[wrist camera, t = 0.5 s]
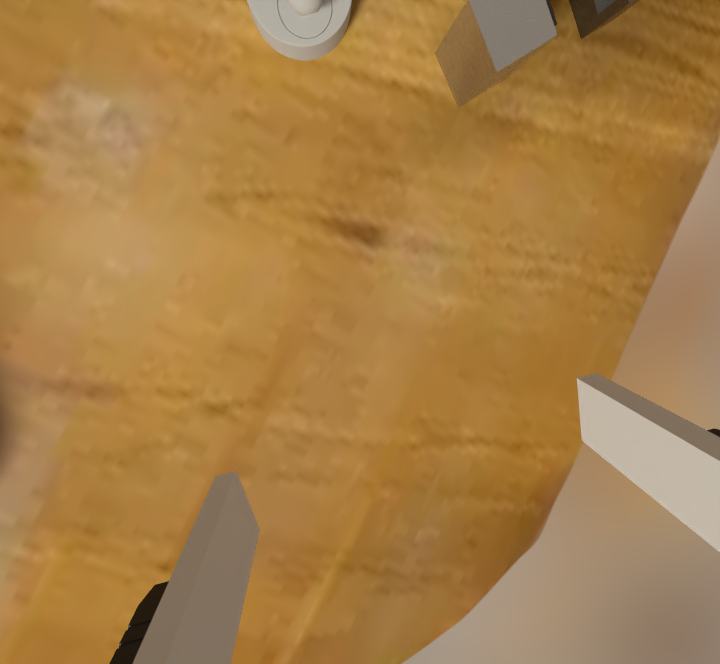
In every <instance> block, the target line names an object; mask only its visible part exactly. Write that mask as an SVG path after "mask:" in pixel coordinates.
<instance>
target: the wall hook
mask: <svg viewBox="0 0 720 664" xmlns="http://www.w3.org/2000/svg"><path fill="white" fill-rule="evenodd" d="M247 1H248V4H249V7H250V10H251V13H252V16H253V19H254V22H255V24H256V26H257V28H258V30H259V32H260V33H261V35H262V36H263V38H264V39H265V40H266V42H267V43H268V44H269V45H270V46H271V47H272V48H274V49H275V50H276V51H278V52H279V53H281V54H282V55H284V56H287V57H289V58H292V59H296V60H313V59H317V58H320V57H322V56H324V55H326V54H328V53H329V52H330V51H332V50H333V49H334V48H335V47H336V46H337V45H338V43H339V42H340V41H341V39H342V38H343V36H344V34H345V32H346V29H347V27H348V23H349V19H350V13H351V5H352V0H247Z"/></svg>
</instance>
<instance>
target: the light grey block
mask: <svg viewBox="0 0 720 664" xmlns="http://www.w3.org/2000/svg"><path fill="white" fill-rule="evenodd" d="M556 25H557V22H556V19H555V16H554V13H553V10H552V7H551V4H550V1H549V0H468V1H467V3H466V4H465V6H464V7H463V9H462V11H461V12H460V14H459V15H458V17H457V19H456V20H455V22H454V24H453V25H452V27H451V28H450V30H449V32H448V33H447V35H446V36H445V38H444V40H443V41H442V43H441V44H440V46H439V48H438V49H437V51H436V52H435V54H436V57H437V59H438V61H439V64H440V66H441V68H442V71H443V73H444V75H445V78H446V80H447V82H448V85H449V87H450V89H451V92H452V94H453V97H454V99H455V101H456V104H457V106H458V108H459V107H460V106H462V105H464V104H465V103H467V102H469V101H470V100H472V99H473V98H475V97H477V96H478V95H480V94H482V93H483V92H485V91H486V90H488V89H490V88H491V87H493V86H495V85H496V84H498V83H500V82H501V81H503V80H504V79H506V78H507V77H508V76H509V75H511V74H512V73H513V72H514V71H515V70H516V69H518V68H519V67H520V66H521V65H522V64H524V63H525V62H526V61H527V60H528V59H530V58H531V57H532V56H533V55H534V54H535V53H537V52H538V51H539V50H540V49H541V48H543V47H544V46H545V45H546V44H547V43H549V42H550V41H551V40H552V39H553V38H554V37H556V36H557V32H556V29H555V26H556Z"/></svg>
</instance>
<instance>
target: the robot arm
mask: <svg viewBox="0 0 720 664" xmlns="http://www.w3.org/2000/svg"><path fill="white" fill-rule="evenodd" d="M577 385H578V397H579V410H580V422H581V435H582V441H583V442H584V443H586V444H587V445H588V446H589V447H591V448H592V449H593V450H594V451H595V452H597V453H598V454H599V455H600V456H602V457H603V458H604V459H605V460H607V461H608V462H609V463H610V464H612V465H613V466H614V467H615V468H617V469H618V470H619V471H620V472H621V473H623V474H624V475H625V476H626V477H628V478H629V479H630V480H631V481H632V482H634V483H635V484H636V485H637V486H639V487H640V488H641V489H642V490H644V491H645V492H646V493H648V494H649V495H650V496H651V497H652V498H653V499H655V500H656V501H657V502H658V503H660V504H661V505H662V506H664V507H665V508H666V509H667V510H668V511H670V512H671V513H672V514H673V515H675V516H676V517H677V518H678V519H680V520H681V521H682V522H683V523H684V524H686V525H687V526H688V527H689V528H691V529H692V530H693V531H694V532H695V533H697V534H698V535H699V536H700V537H702V538H703V539H704V540H705V541H707V542H708V543H709V544H711V545H712V546H713V547H714V548H715V549H716V550H718V551H719V552H720V430H718V429H711V430H705V429H703V428H701V427H699V426H697V425H695V424H693V423H691V422H689V421H688V420H686V419H684V418H682V417H680V416H678V415H676V414H674V413H672V412H670V411H668V410H666V409H665V408H663V407H661V406H659V405H657V404H655V403H653V402H651V401H649V400H647V399H645V398H643V397H641V396H640V395H638V394H636V393H634V392H632V391H630V390H628V389H626V388H624V387H622V386H620V385H618V384H616V383H614V382H613V381H611V380H609V379H607V378H605V377H603V376H601V375H599V374H597V373H595V374H591V375H588V376H584V377H580V378H577ZM259 530H260V529H259V527H258V524H257V522H256V519H255V517H254V514H253V512H252V509H251V507H250V504H249V502H248V499H247V497H246V495H245V492H244V490H243V487H242V485H241V482H240V480H239V477H238V475H237V472H236V471H233V472H230V473H226V474H222V475H219V476H215V479H214V481H213V483H212V485H211V488H210V490H209V492H208V494H207V497H206V499H205V501H204V503H203V506H202V508H201V510H200V512H199V515H198V517H197V519H196V522H195V524H194V526H193V528H192V531H191V533H190V535H189V537H188V540H187V542H186V544H185V546H184V549H183V551H182V553H181V555H180V558H179V560H178V562H177V564H176V567H175V569H174V571H173V573H172V576H171V578H170V580H169V581H168V582H164V583H161V584H157V585H154V587H153V588H152V589H151V590H150V592H149V593H148V594H147V595H146V597H145V598H144V599H143V600H142V602H141V603H140V604H139V605H138V607H137V609H136V611H135V613H134V615H133V617H132V619H131V621H130V623H129V625H128V630H127V631H126V632H125V634H124V636H123V638H122V640H121V642H120V644H119V649H117V650H116V652H115V654H114V656H113V658H112V660H111V662H110V664H231V660H232V655H233V650H234V646H235V641H236V637H237V632H238V627H239V623H240V618H241V613H242V609H243V604H244V600H245V595H246V590H247V586H248V581H249V576H250V572H251V567H252V562H253V558H254V553H255V549H256V544H257V539H258V535H259Z"/></svg>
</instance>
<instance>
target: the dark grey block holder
mask: <svg viewBox="0 0 720 664" xmlns="http://www.w3.org/2000/svg"><path fill="white" fill-rule="evenodd" d="M569 1H570V4H571V8H572V11H573V14H574V17H575V20H576V23H577V27H578V30H579V33H580V36H581V39H582V38H584V37H585V36H587V35H589V34H590V33H592V32H594V31H595V30H597V29H599V28H600V27H602V26H603V25H605V24H607V23H608V22H610V21H612V20H613V19H615V18H616V17H618V16H619V15H620V14H622V13H623V12H624V11H626V10H627V9H628V8H630V7H631V6H633V5H634V4H635V3H637V2H638V1H639V0H569Z"/></svg>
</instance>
